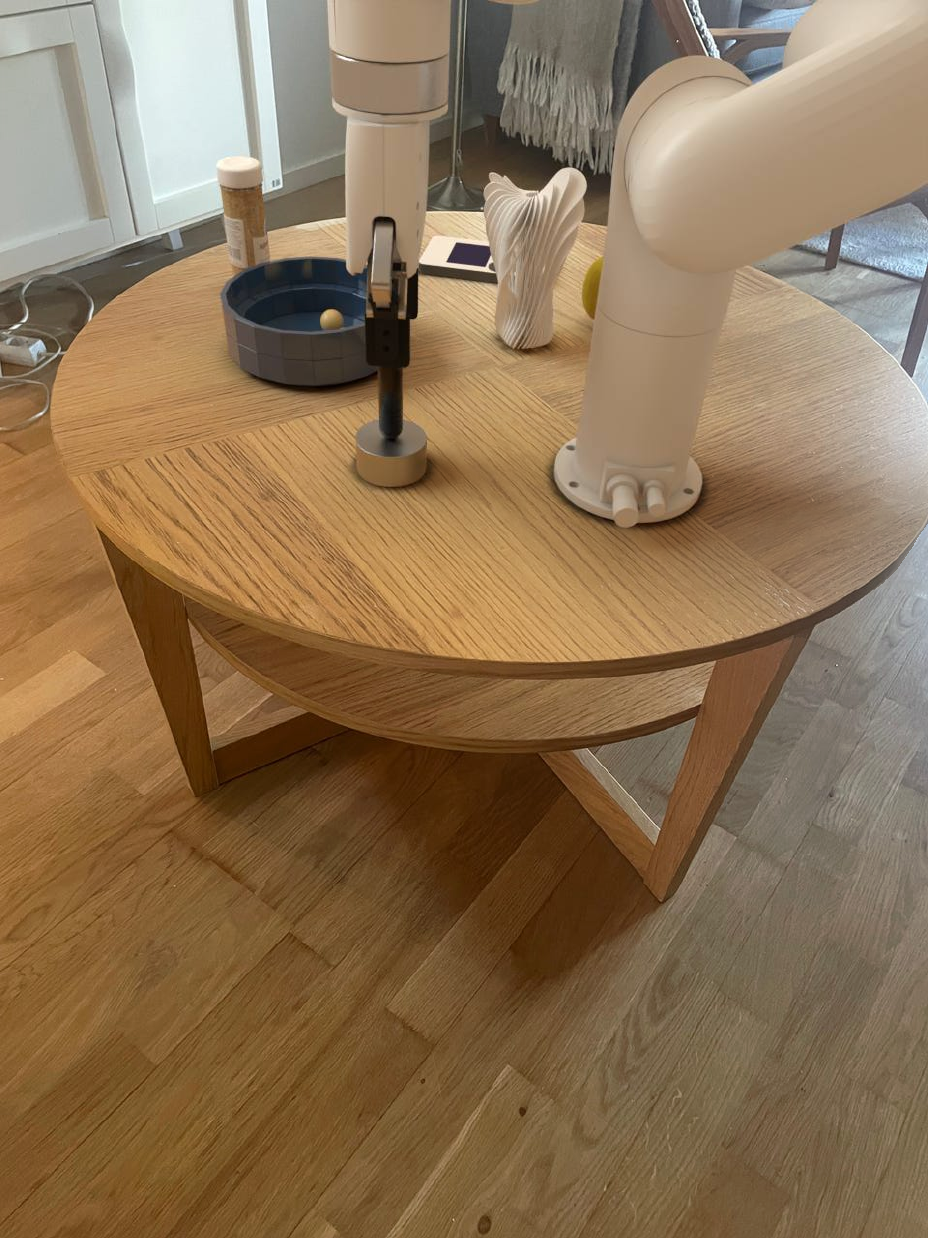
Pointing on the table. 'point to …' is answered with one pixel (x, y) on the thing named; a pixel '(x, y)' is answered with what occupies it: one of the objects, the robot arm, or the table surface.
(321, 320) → the bean
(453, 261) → the handheld game console
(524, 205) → the shell sculpture
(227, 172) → the sprinkles bottle
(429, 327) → the table surface
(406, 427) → the weighted rod stand
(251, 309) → the bowl
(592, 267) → the lemon
